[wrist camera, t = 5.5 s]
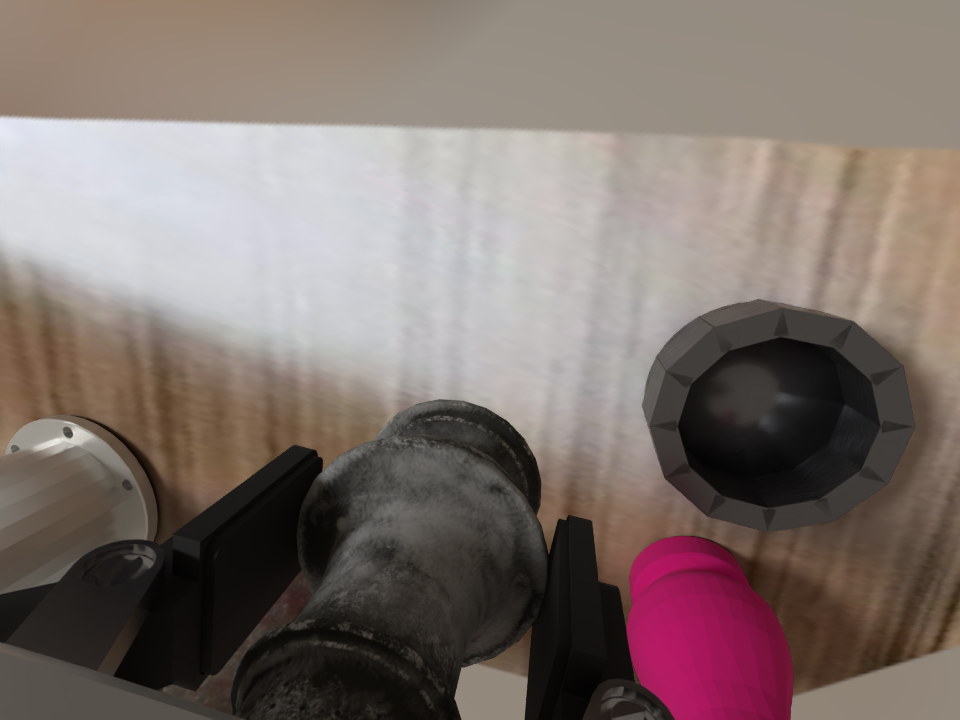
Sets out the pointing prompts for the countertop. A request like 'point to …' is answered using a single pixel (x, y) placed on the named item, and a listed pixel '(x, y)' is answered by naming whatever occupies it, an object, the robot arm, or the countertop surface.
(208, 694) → the candle
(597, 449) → the countertop surface
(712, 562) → the pepper mill
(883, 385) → the dark gray faceted bowl
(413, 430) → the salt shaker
